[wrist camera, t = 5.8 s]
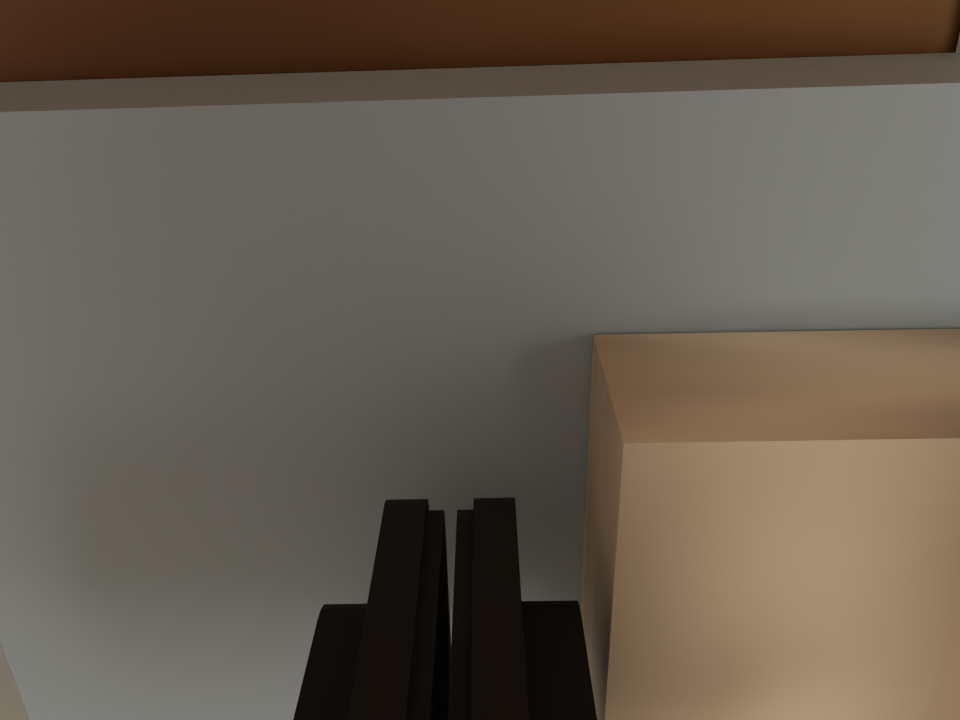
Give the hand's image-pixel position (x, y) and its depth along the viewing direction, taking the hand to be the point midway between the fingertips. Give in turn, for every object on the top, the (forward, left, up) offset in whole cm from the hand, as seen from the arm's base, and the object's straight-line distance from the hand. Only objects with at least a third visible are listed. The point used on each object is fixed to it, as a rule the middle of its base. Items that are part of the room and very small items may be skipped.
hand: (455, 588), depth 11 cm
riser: (0, 0, -4) cm, 4 cm away
